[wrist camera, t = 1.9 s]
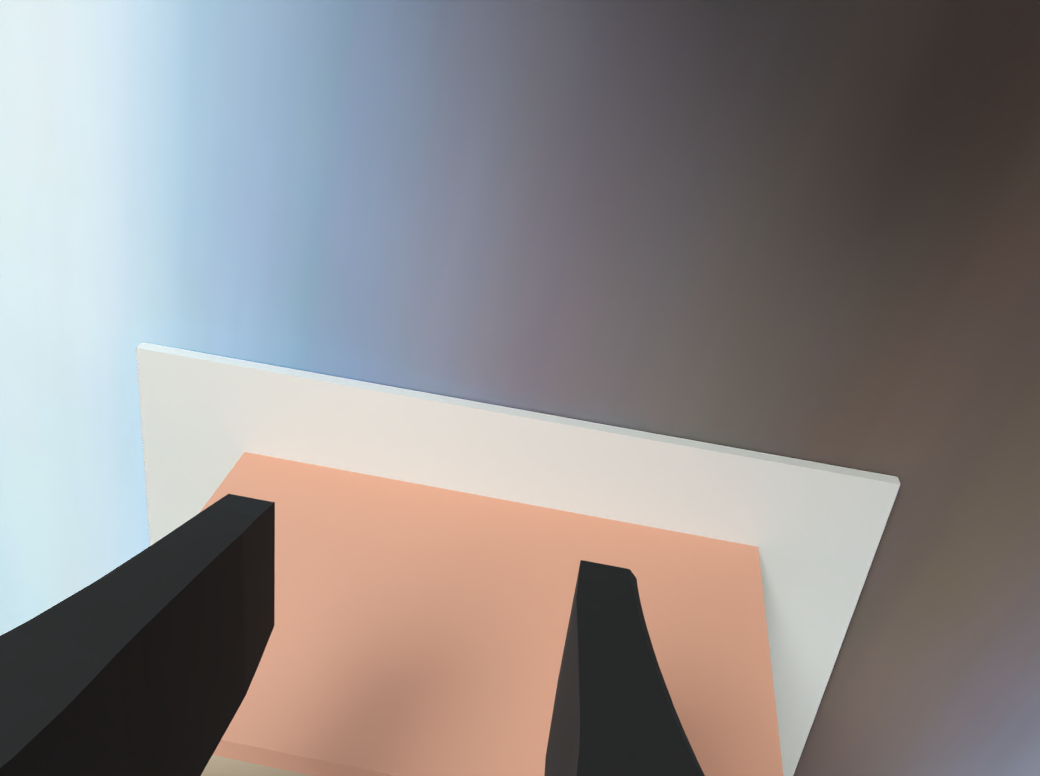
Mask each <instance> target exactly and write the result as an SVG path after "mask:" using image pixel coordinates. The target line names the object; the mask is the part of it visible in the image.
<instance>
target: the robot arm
mask: <svg viewBox="0 0 1040 776" xmlns="http://www.w3.org/2000/svg"><path fill="white" fill-rule="evenodd" d="M274 604H275V502H270V501H265V500H260V499H254V498H249V497H244V496H238V495H233V494H228V495H226V496H224V497H223V498H221V499H220V500H218V501H217V502H215V503H214V504H212V505H211V506H209V507H208V508H206V509H205V510H203V511H202V512H200V513H199V514H197V515H196V516H194V517H193V518H191V519H190V520H188V521H187V522H185V523H184V524H182V525H181V526H179V527H178V528H176V529H175V530H173V531H172V532H170V533H169V534H168V535H166V536H165V537H163V538H162V539H160V540H159V541H157V542H156V543H154V544H153V545H151V546H150V547H148V548H147V549H145V550H144V551H142V552H141V553H139V554H138V555H136V556H135V557H133V558H131V559H130V560H128V561H127V562H125V563H124V564H122V565H121V566H119V567H117V568H116V569H114V570H113V571H111V572H110V573H108V574H107V575H105V576H104V577H102V578H100V579H99V580H97V581H96V582H94V583H92V584H91V585H89V586H87V587H86V588H84V589H82V590H81V591H79V592H77V593H75V594H74V595H72V596H70V597H69V598H67V599H65V600H63V601H62V602H60V603H58V604H57V605H55V606H53V607H52V608H50V609H48V610H46V611H45V612H43V613H41V614H40V615H38V616H36V617H35V618H33V619H31V620H29V621H28V622H26V623H24V624H22V625H20V626H18V627H16V628H15V629H13V630H11V631H9V632H7V633H5V634H3V635H1V636H0V776H201V774H202V772H203V771H204V769H205V767H206V765H207V764H208V762H209V760H210V758H211V757H212V755H213V753H214V751H215V750H216V748H217V746H218V744H219V743H220V741H221V739H222V737H223V735H224V734H225V732H226V730H227V728H228V727H229V725H230V723H231V721H232V719H233V718H234V716H235V714H236V712H237V710H238V709H239V707H240V705H241V703H242V701H243V699H244V698H245V696H246V694H247V691H248V689H249V687H250V684H251V682H252V679H253V677H254V675H255V672H256V670H257V668H258V665H259V663H260V660H261V658H262V655H263V653H264V650H265V648H266V645H267V643H268V640H269V638H270V635H271V633H272V630H273V628H274ZM544 776H705V775H704V773H703V771H702V769H701V767H700V765H699V762H698V760H697V758H696V756H695V754H694V751H693V749H692V747H691V745H690V743H689V740H688V738H687V736H686V734H685V732H684V729H683V727H682V724H681V722H680V720H679V717H678V715H677V712H676V710H675V708H674V705H673V702H672V700H671V697H670V694H669V692H668V689H667V686H666V683H665V681H664V678H663V675H662V673H661V670H660V667H659V664H658V661H657V658H656V655H655V652H654V649H653V646H652V643H651V639H650V636H649V633H648V629H647V626H646V622H645V618H644V615H643V611H642V606H641V602H640V597H639V592H638V586H637V578H636V577H635V576H634V574H633V573H632V572H631V570H630V569H627V568H621V567H616V566H611V565H605V564H600V563H595V562H589V561H584V560H581V561H580V567H579V572H578V577H577V582H576V588H575V593H574V598H573V603H572V609H571V614H570V619H569V624H568V630H567V635H566V640H565V646H564V651H563V656H562V661H561V667H560V672H559V677H558V683H557V689H556V695H555V701H554V707H553V714H552V720H551V726H550V732H549V739H548V745H547V751H546V759H545V775H544Z"/></svg>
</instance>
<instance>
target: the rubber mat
mask: <svg viewBox="0 0 1040 776" xmlns="http://www.w3.org/2000/svg"><path fill="white" fill-rule="evenodd" d="M136 354H137V368H138V382H139V396H140V410H141V424H142V438H143V452H144V466H145V480H146V494H147V508H148V521H149V535H150V546H151V545H153V544H154V543H156V542H157V541H159V540H160V539H162V538H163V537H165V536H166V535H168V534H169V533H170V532H172V531H173V530H175V529H176V528H178V527H179V526H181V525H182V524H184V523H185V522H187V521H188V520H190V519H191V518H193V517H194V516H196V515H197V514H199V513H200V511H201V510H202V508H203V507H204V506H205V504H206V503H207V502H208V500H209V499H210V498H211V496H212V495H213V494H214V492H215V491H216V490H217V488H218V487H219V486H220V484H221V483H222V482H223V480H224V479H225V478H226V476H227V475H228V473H229V472H230V471H231V469H232V468H233V467H234V465H235V464H236V463H237V461H238V460H239V459H240V457H241V456H242V455H243V453H244V452H248V453H254V454H259V455H264V456H270V457H275V458H281V459H286V460H291V461H297V462H302V463H308V464H313V465H319V466H324V467H329V468H335V469H340V470H346V471H351V472H356V473H362V474H367V475H373V476H378V477H383V478H389V479H394V480H400V481H405V482H411V483H416V484H421V485H427V486H432V487H438V488H443V489H448V490H454V491H459V492H465V493H470V494H475V495H481V496H486V497H492V498H497V499H502V500H508V501H513V502H519V503H524V504H530V505H535V506H540V507H546V508H551V509H557V510H562V511H567V512H573V513H578V514H584V515H589V516H594V517H600V518H605V519H611V520H616V521H622V522H627V523H632V524H638V525H643V526H649V527H654V528H659V529H665V530H670V531H676V532H681V533H686V534H692V535H697V536H703V537H708V538H713V539H719V540H724V541H730V542H735V543H741V544H746V545H751V546H757V547H758V550H759V559H760V568H761V577H762V586H763V595H764V604H765V613H766V623H767V632H768V641H769V650H770V659H771V668H772V677H773V686H774V695H775V704H776V713H777V722H778V731H779V740H780V749H781V758H782V767H783V776H793V775H794V772H795V770H796V767H797V764H798V761H799V759H800V756H801V753H802V751H803V748H804V745H805V742H806V740H807V737H808V734H809V732H810V729H811V726H812V723H813V721H814V718H815V715H816V713H817V710H818V707H819V704H820V702H821V699H822V696H823V694H824V691H825V688H826V685H827V683H828V680H829V677H830V674H831V672H832V669H833V666H834V664H835V661H836V658H837V655H838V653H839V650H840V647H841V645H842V642H843V639H844V636H845V634H846V631H847V628H848V626H849V623H850V620H851V617H852V615H853V612H854V609H855V607H856V604H857V601H858V598H859V596H860V593H861V590H862V587H863V585H864V582H865V579H866V577H867V574H868V571H869V568H870V566H871V563H872V560H873V558H874V555H875V552H876V549H877V547H878V544H879V541H880V539H881V536H882V533H883V530H884V528H885V525H886V522H887V520H888V517H889V514H890V511H891V509H892V506H893V503H894V501H895V498H896V495H897V492H898V490H899V487H900V482H899V479H898V477H896V476H890V475H885V474H879V473H873V472H868V471H862V470H857V469H851V468H845V467H840V466H834V465H828V464H823V463H817V462H812V461H806V460H800V459H795V458H789V457H784V456H778V455H772V454H767V453H761V452H756V451H750V450H744V449H739V448H733V447H728V446H722V445H716V444H711V443H705V442H699V441H694V440H688V439H683V438H677V437H671V436H666V435H660V434H655V433H649V432H643V431H638V430H632V429H627V428H621V427H615V426H610V425H604V424H599V423H593V422H587V421H582V420H576V419H570V418H565V417H559V416H554V415H548V414H542V413H537V412H531V411H526V410H520V409H514V408H509V407H503V406H498V405H492V404H486V403H481V402H475V401H470V400H464V399H458V398H453V397H447V396H442V395H436V394H430V393H425V392H419V391H413V390H408V389H402V388H397V387H391V386H385V385H380V384H374V383H369V382H363V381H357V380H352V379H346V378H341V377H335V376H329V375H324V374H318V373H313V372H307V371H301V370H296V369H290V368H284V367H279V366H273V365H268V364H262V363H256V362H251V361H245V360H240V359H234V358H228V357H223V356H217V355H212V354H206V353H200V352H195V351H189V350H184V349H178V348H172V347H167V346H161V345H155V344H150V343H144V342H142V343H141V344H140V345H139V346H137V347H136Z"/></svg>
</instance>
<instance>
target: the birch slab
mask: <svg viewBox="0 0 1040 776" xmlns="http://www.w3.org/2000/svg"><path fill="white" fill-rule="evenodd" d="M228 494H233V495H238V496H244V497H249V498H254V499H260V500H265V501H270V502H275V604H274V628H273V630H272V633H271V635H270V638H269V640H268V643H267V645H266V648H265V650H264V653H263V655H262V658H261V660H260V663H259V665H258V668H257V670H256V672H255V675H254V677H253V679H252V682H251V684H250V687H249V689H248V691H247V694H246V696H245V698H244V699H243V701H242V703H241V705H240V707H239V709H238V710H237V712H236V714H235V716H234V718H233V719H232V721H231V723H230V725H229V727H228V728H227V730H226V732H225V734H224V735H223V737H222V739H221V741H220V743H219V744H218V746H217V748H216V750H215V751H214V753H213V755H212V757H211V758H210V760H209V762H208V764H207V765H206V767H205V769H204V771H203V772H202V774H201V776H544V775H545V759H546V751H547V745H548V739H549V732H550V726H551V720H552V714H553V707H554V701H555V695H556V689H557V683H558V677H559V672H560V667H561V661H562V656H563V651H564V646H565V640H566V635H567V630H568V624H569V619H570V614H571V609H572V603H573V598H574V593H575V588H576V582H577V577H578V572H579V567H580V561H581V560H584V561H589V562H595V563H600V564H605V565H611V566H616V567H621V568H627V569H630V570H631V572H632V573H633V574H634V576H635V577H636V578H637V586H638V592H639V597H640V602H641V606H642V611H643V615H644V618H645V622H646V626H647V629H648V633H649V636H650V639H651V643H652V646H653V649H654V652H655V655H656V658H657V661H658V664H659V667H660V670H661V673H662V675H663V678H664V681H665V683H666V686H667V689H668V692H669V694H670V697H671V700H672V702H673V705H674V708H675V710H676V712H677V715H678V717H679V720H680V722H681V724H682V727H683V729H684V732H685V734H686V736H687V738H688V740H689V743H690V745H691V747H692V749H693V751H694V754H695V756H696V758H697V760H698V762H699V765H700V767H701V769H702V771H703V773H704V775H705V776H783V767H782V758H781V749H780V740H779V731H778V722H777V713H776V704H775V695H774V686H773V677H772V668H771V659H770V650H769V641H768V632H767V623H766V613H765V604H764V595H763V586H762V577H761V568H760V559H759V550H758V547H757V546H751V545H746V544H741V543H735V542H730V541H724V540H719V539H713V538H708V537H703V536H697V535H692V534H686V533H681V532H676V531H670V530H665V529H659V528H654V527H649V526H643V525H638V524H632V523H627V522H622V521H616V520H611V519H605V518H600V517H594V516H589V515H584V514H578V513H573V512H567V511H562V510H557V509H551V508H546V507H540V506H535V505H530V504H524V503H519V502H513V501H508V500H502V499H497V498H492V497H486V496H481V495H475V494H470V493H465V492H459V491H454V490H448V489H443V488H438V487H432V486H427V485H421V484H416V483H411V482H405V481H400V480H394V479H389V478H383V477H378V476H373V475H367V474H362V473H356V472H351V471H346V470H340V469H335V468H329V467H324V466H319V465H313V464H308V463H302V462H297V461H291V460H286V459H281V458H275V457H270V456H264V455H259V454H254V453H248V452H244V453H243V455H242V456H241V457H240V459H239V460H238V461H237V463H236V464H235V465H234V467H233V468H232V469H231V471H230V472H229V473H228V475H227V476H226V478H225V479H224V480H223V482H222V483H221V484H220V486H219V487H218V488H217V490H216V491H215V492H214V494H213V495H212V496H211V498H210V499H209V500H208V502H207V503H206V504H205V506H204V507H203V508H202V510H201V511H200V512H202V511H203V510H205V509H206V508H208V507H209V506H211V505H212V504H214V503H215V502H217V501H218V500H220V499H221V498H223V497H224V496H226V495H228Z"/></svg>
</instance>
